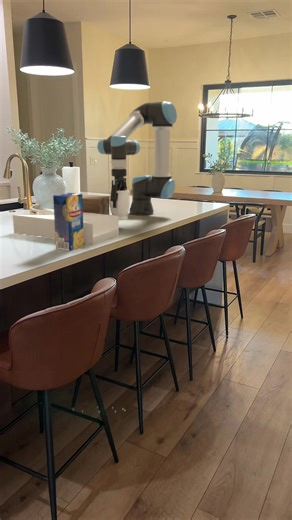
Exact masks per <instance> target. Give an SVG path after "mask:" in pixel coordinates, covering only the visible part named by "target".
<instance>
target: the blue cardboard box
mask: <svg viewBox="0 0 292 520" xmlns="http://www.w3.org/2000/svg"><path fill="white" fill-rule="evenodd" d="M82 195H83V193H81V192H79V193H76V192H63V193H59V194H53V196H52V197H53V200H52V201H53V209H54V221H55V239H54V240H55V250H59V249H62V250H61V251H66V250H69V251H68V252H71V251H74V250H76V249H78V248H80V246H81V247H83V246H85V243H84V232H83V198H82ZM73 249H74V250H73Z"/></svg>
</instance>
